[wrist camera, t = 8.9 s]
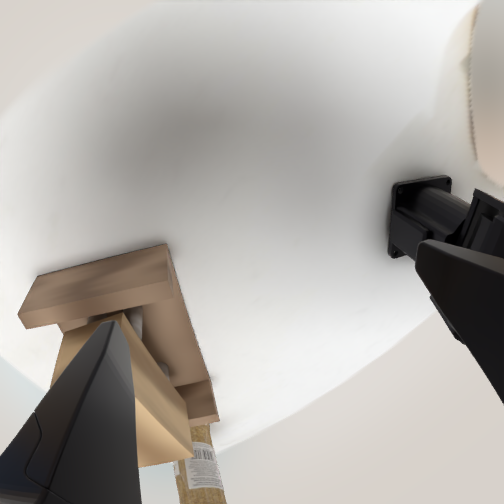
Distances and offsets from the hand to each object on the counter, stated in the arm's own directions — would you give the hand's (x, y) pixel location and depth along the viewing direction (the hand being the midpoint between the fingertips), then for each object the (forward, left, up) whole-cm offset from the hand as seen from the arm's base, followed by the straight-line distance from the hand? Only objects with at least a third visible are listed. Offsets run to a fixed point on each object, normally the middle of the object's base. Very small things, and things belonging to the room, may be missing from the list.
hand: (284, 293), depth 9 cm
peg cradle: (+9, +11, -12) cm, 19 cm away
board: (+9, +11, -9) cm, 17 cm away
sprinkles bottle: (+8, +25, -13) cm, 29 cm away
